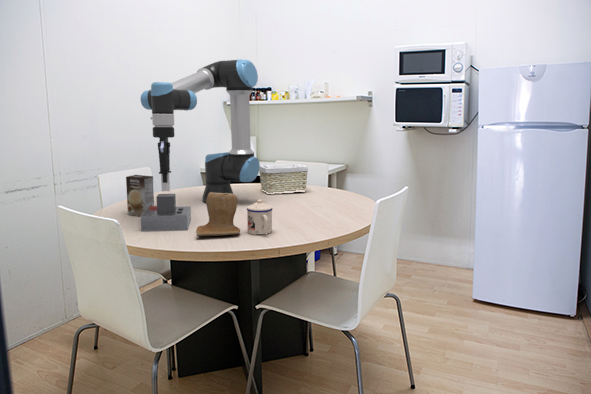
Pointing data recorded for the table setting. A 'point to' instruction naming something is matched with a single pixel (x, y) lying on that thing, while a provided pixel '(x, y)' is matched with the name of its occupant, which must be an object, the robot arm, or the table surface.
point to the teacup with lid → (259, 218)
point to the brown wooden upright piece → (219, 215)
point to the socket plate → (166, 219)
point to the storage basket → (283, 177)
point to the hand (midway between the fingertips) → (165, 190)
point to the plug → (166, 203)
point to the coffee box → (139, 194)
